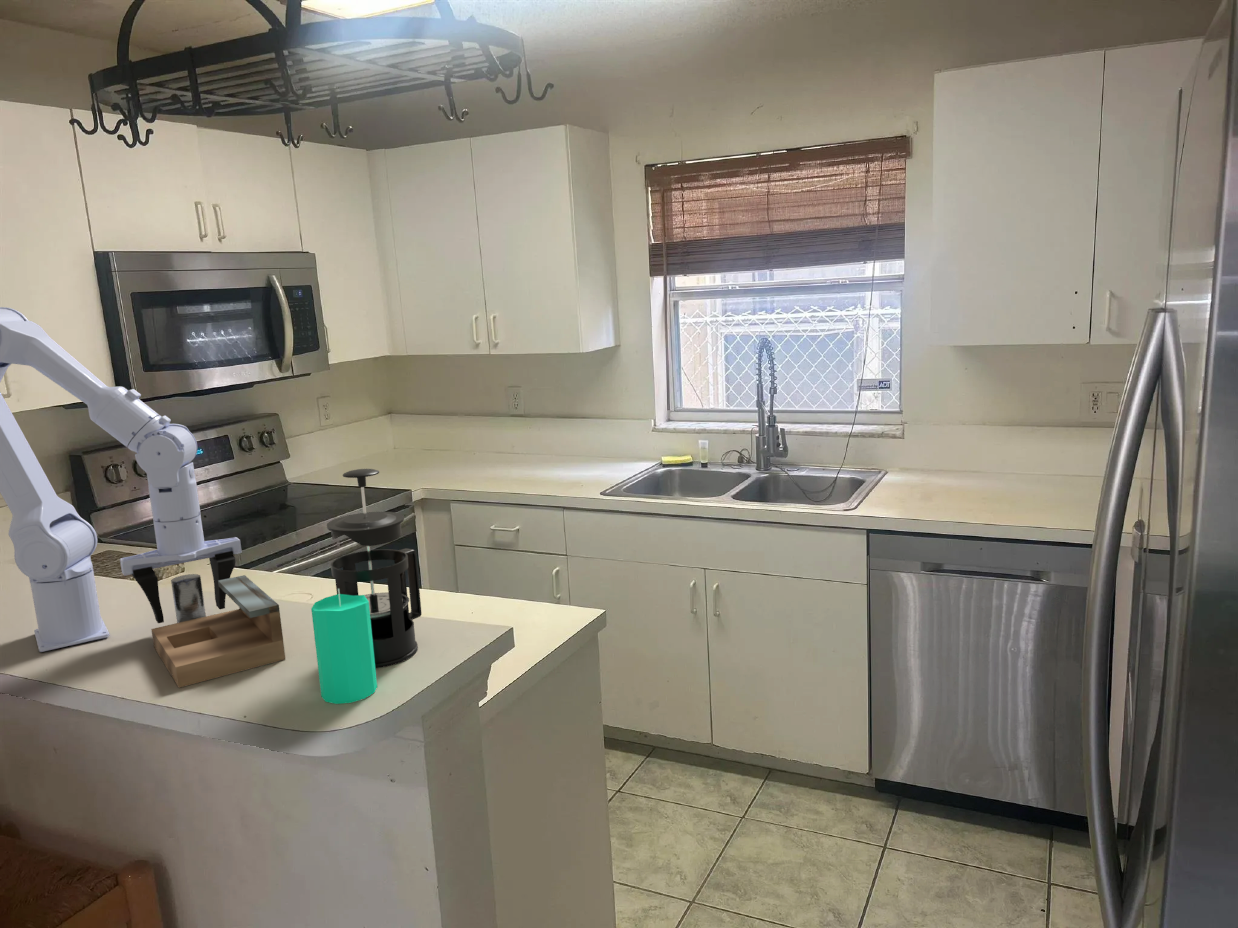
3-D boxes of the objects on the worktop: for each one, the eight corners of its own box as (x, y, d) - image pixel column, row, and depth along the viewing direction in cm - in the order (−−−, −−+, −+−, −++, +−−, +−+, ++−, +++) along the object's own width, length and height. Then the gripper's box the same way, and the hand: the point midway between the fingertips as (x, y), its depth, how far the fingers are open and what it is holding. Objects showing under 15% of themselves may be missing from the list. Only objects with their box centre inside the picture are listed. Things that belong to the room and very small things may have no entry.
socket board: (154, 647, 115) (146, 595, 114) (250, 624, 122) (244, 574, 121) (178, 687, 103) (170, 629, 101) (285, 659, 110) (278, 604, 108)
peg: (175, 626, 123) (168, 578, 121) (203, 620, 125) (197, 572, 123) (181, 634, 120) (173, 584, 118) (209, 627, 122) (203, 578, 120)
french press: (366, 677, 103) (346, 482, 99) (318, 660, 109) (297, 475, 105) (444, 643, 112) (428, 464, 108) (396, 629, 118) (379, 457, 114)
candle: (361, 705, 96) (350, 598, 94) (310, 702, 97) (298, 597, 95) (386, 681, 102) (376, 580, 100) (338, 678, 103) (327, 579, 101)
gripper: (120, 532, 112) (136, 635, 114) (241, 512, 120) (254, 608, 123) (112, 522, 117) (127, 620, 120) (228, 503, 126) (240, 595, 128)
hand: (190, 613), depth 122 cm, fingers open, 7 cm apart
